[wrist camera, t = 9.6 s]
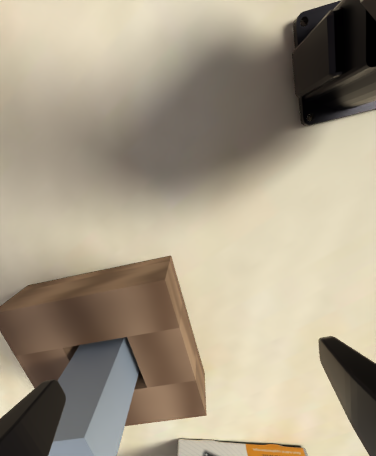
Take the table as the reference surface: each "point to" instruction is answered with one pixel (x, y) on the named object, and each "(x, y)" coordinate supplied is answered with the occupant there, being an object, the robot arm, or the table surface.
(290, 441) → the table surface
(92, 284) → the mortise block
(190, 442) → the hard drive box
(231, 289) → the table surface
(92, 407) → the tenon peg
